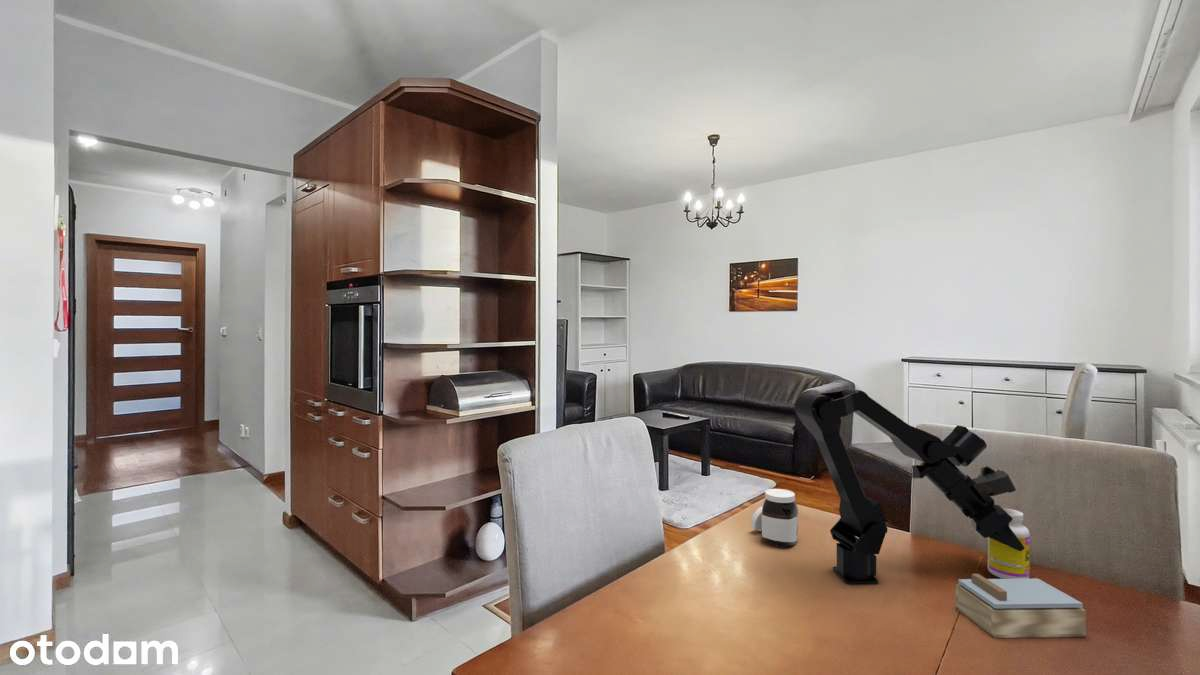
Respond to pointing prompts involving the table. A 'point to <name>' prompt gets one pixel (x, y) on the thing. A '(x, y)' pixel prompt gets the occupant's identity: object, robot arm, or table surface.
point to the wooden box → (1021, 618)
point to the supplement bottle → (1011, 552)
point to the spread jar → (777, 518)
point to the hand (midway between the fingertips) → (1016, 543)
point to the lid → (1018, 593)
